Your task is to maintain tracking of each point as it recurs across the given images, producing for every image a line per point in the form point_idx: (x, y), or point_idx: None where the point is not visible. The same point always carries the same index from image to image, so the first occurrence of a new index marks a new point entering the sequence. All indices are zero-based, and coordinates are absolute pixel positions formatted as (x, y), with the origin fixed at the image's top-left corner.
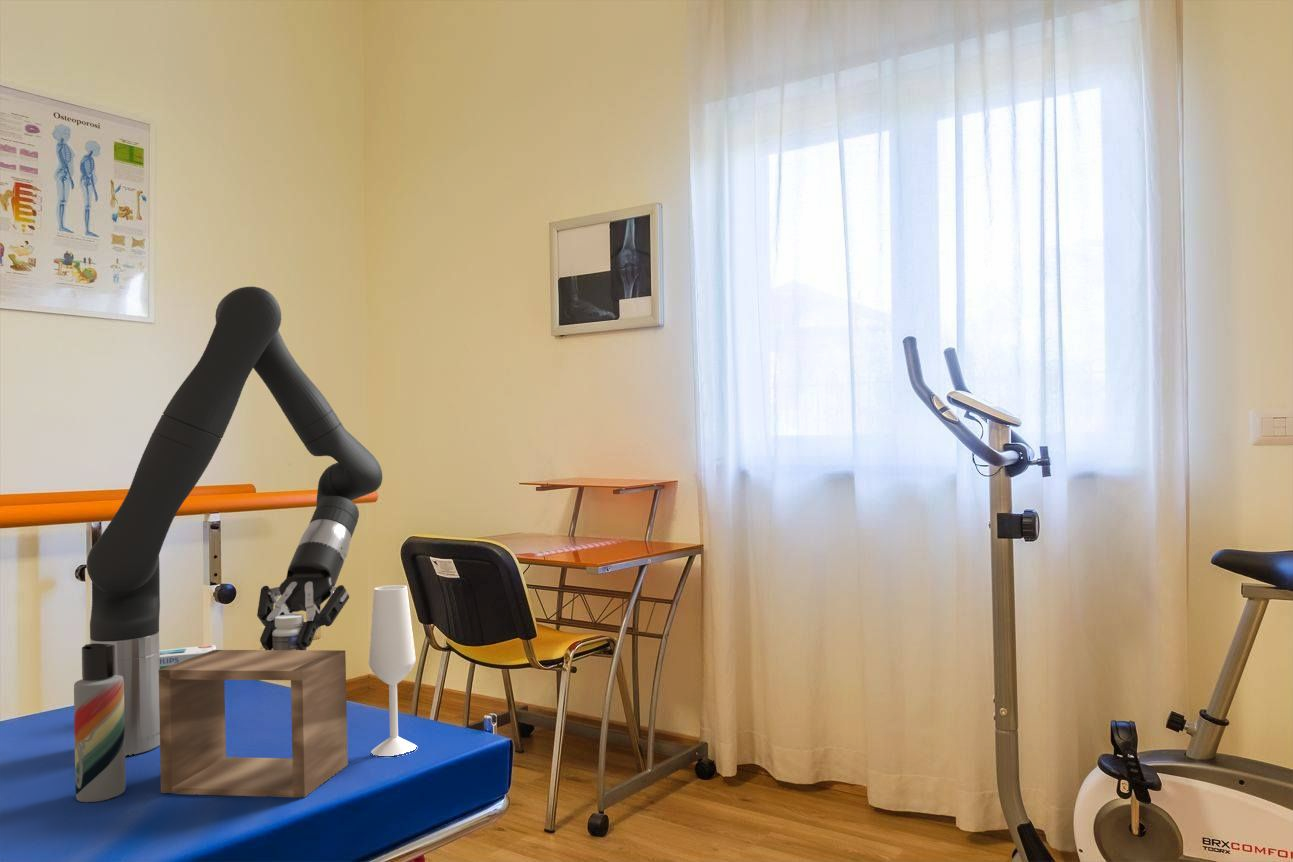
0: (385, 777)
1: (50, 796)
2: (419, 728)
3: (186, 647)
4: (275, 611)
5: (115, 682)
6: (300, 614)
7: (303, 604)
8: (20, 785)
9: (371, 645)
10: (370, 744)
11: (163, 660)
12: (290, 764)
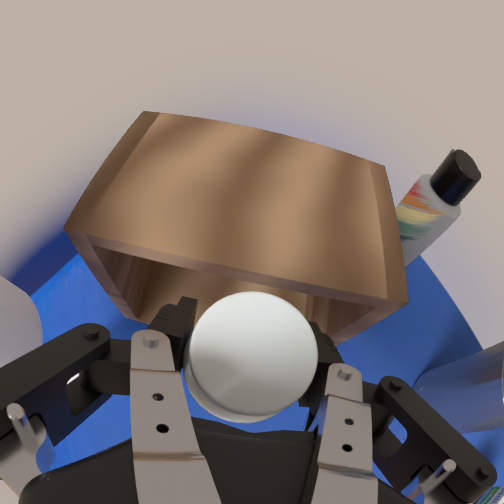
0: (82, 267)
1: (409, 270)
2: (61, 454)
3: None
4: (345, 392)
5: (419, 183)
6: (208, 378)
7: (207, 424)
8: (447, 299)
9: (11, 297)
10: (111, 403)
11: (494, 501)
12: (196, 310)
